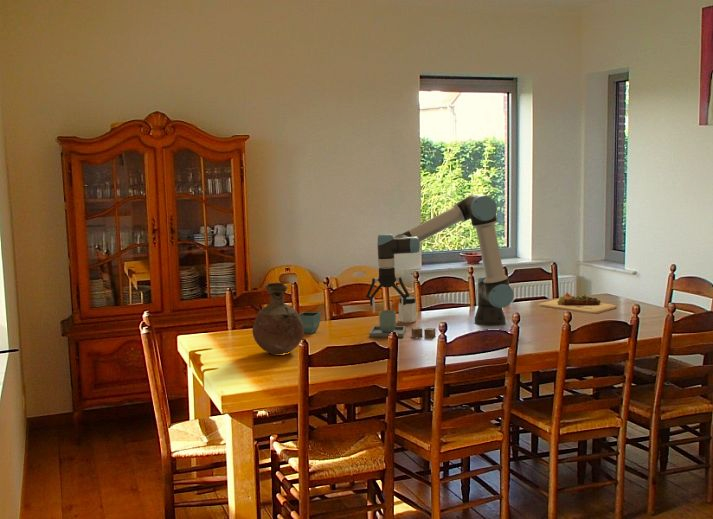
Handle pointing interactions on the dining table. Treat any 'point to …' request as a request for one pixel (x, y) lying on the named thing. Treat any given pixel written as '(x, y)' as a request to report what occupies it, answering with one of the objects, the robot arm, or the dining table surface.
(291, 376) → the dining table surface
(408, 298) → the jar
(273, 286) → the jug
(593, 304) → the cutting board
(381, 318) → the cup
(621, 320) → the dining table surface
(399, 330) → the tray
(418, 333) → the walnut block
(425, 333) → the walnut block
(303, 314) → the flower pot
